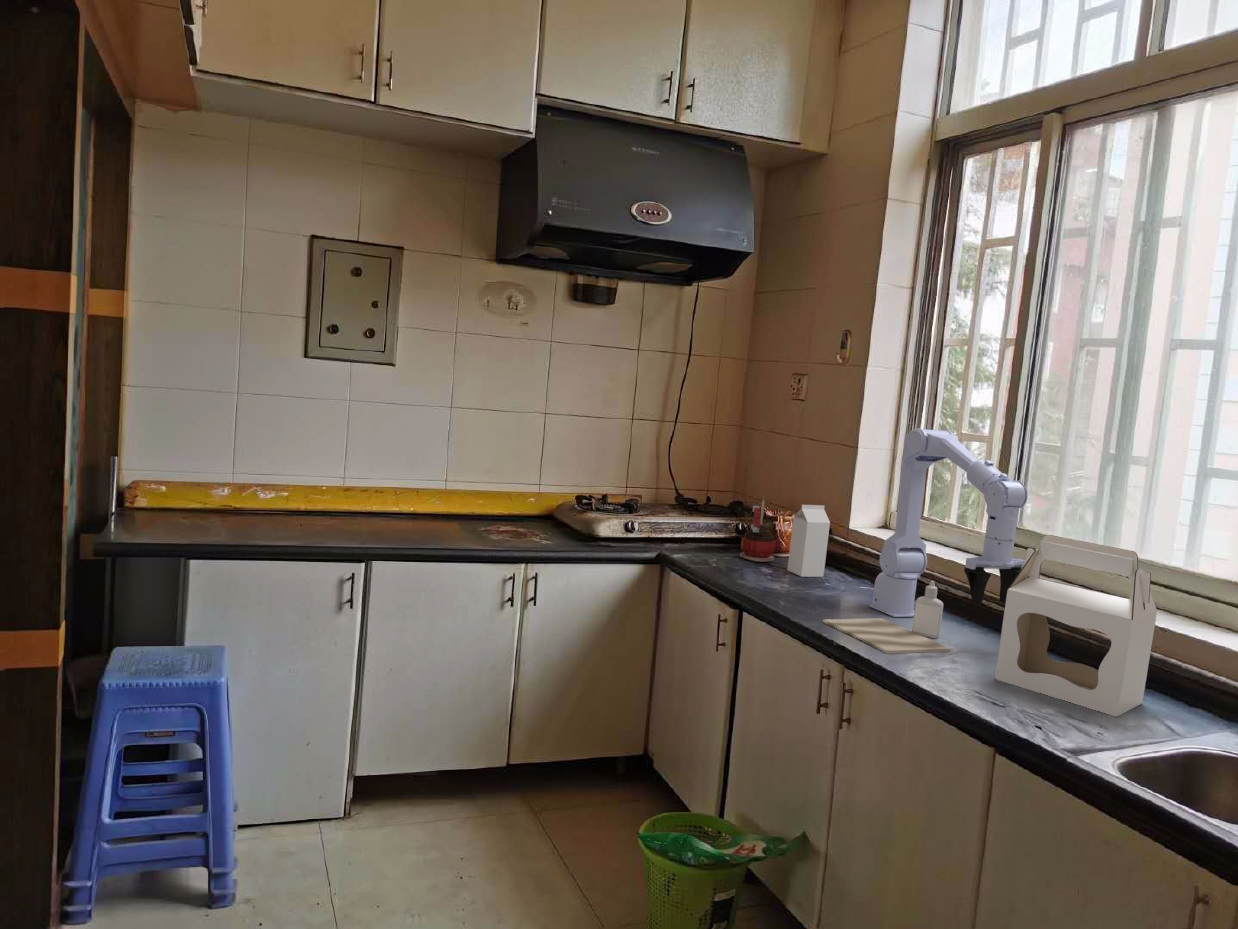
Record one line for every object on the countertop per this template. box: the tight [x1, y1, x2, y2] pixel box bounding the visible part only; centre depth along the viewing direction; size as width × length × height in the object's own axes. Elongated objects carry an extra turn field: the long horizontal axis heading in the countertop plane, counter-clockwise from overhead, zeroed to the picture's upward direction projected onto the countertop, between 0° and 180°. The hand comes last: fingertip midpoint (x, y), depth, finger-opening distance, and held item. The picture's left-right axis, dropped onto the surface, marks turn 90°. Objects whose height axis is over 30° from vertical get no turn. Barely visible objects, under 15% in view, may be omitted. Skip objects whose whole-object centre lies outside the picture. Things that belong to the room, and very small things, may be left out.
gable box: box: [994, 534, 1158, 718], centre depth 176 cm, size 22×13×28 cm, turn 44°
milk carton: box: [786, 504, 831, 578], centre depth 259 cm, size 7×7×19 cm
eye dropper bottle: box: [911, 580, 944, 639], centre depth 207 cm, size 4×6×12 cm
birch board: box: [822, 617, 952, 655], centre depth 203 cm, size 22×16×1 cm
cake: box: [739, 497, 777, 563], centre depth 273 cm, size 11×9×18 cm
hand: (990, 602), depth 199 cm, fingers open, 7 cm apart
